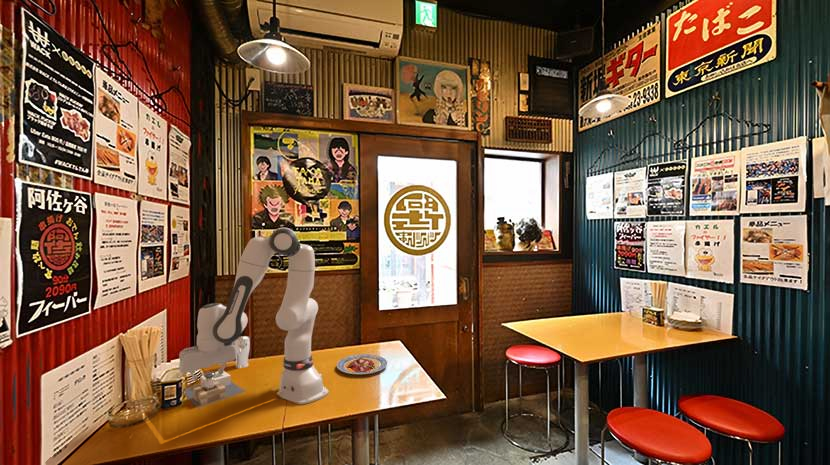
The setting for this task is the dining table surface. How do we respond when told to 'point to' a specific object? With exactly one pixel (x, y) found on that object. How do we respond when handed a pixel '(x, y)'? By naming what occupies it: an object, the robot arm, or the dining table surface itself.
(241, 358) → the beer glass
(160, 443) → the dining table surface
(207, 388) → the steel pin
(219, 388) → the mount block
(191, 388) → the rubber mat
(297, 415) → the dining table surface
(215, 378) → the socket block
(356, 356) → the ceramic plate
